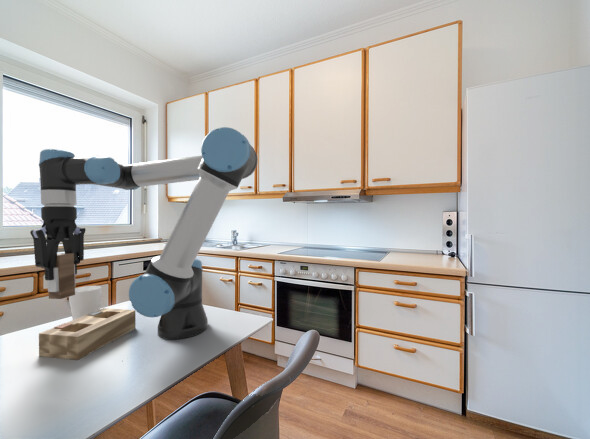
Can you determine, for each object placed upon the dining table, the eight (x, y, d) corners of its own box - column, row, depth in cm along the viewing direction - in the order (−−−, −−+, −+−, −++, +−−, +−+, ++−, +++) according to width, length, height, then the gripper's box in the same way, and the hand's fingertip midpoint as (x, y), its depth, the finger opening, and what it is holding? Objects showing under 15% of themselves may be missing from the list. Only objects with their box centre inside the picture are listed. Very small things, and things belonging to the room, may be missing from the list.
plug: (75, 294, 78) (73, 253, 78) (60, 299, 74) (59, 255, 74) (63, 294, 79) (62, 253, 79) (48, 298, 75) (47, 255, 75)
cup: (84, 329, 88) (84, 293, 88) (62, 327, 90) (61, 291, 90) (108, 319, 97) (108, 286, 97) (87, 317, 99) (87, 284, 99)
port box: (135, 328, 90) (135, 309, 89) (77, 359, 70) (77, 335, 70) (103, 325, 91) (103, 307, 91) (39, 356, 72) (38, 332, 72)
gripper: (77, 207, 85) (79, 281, 85) (12, 205, 68) (15, 297, 69) (97, 206, 84) (100, 282, 84) (36, 204, 67) (40, 298, 67)
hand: (62, 289), depth 76 cm, fingers closed on plug, 4 cm apart
